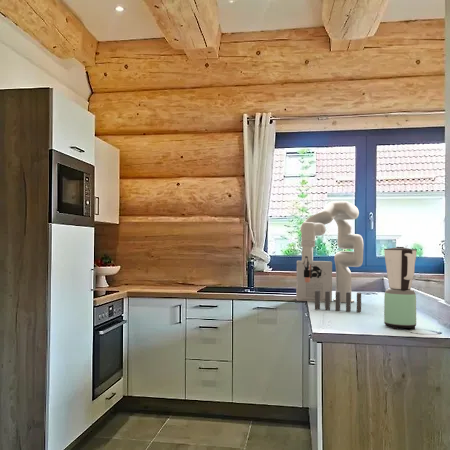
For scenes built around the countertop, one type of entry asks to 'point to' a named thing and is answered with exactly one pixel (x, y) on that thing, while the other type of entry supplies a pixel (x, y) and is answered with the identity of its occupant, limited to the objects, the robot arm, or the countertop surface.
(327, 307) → the domino
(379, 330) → the countertop surface
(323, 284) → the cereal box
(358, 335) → the countertop surface
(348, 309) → the domino
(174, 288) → the countertop surface
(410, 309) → the juicer
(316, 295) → the domino
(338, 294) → the domino
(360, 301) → the domino
